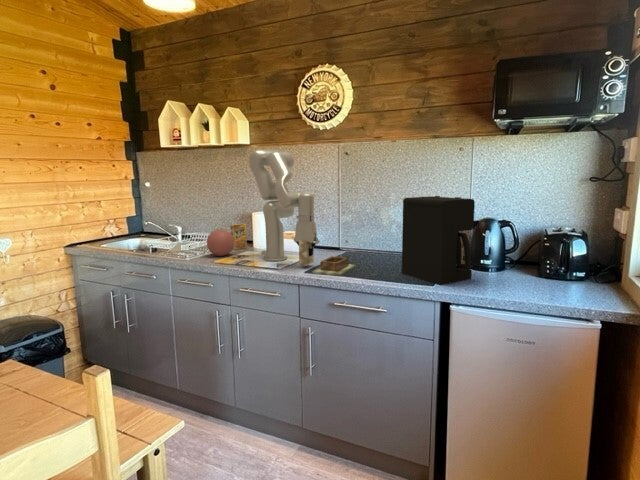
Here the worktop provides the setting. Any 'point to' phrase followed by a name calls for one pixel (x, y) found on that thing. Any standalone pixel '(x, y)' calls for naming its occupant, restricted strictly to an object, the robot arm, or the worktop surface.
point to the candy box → (239, 236)
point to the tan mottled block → (305, 253)
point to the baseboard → (177, 248)
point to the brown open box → (334, 266)
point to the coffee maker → (437, 238)
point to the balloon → (220, 242)
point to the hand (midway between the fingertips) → (306, 254)
